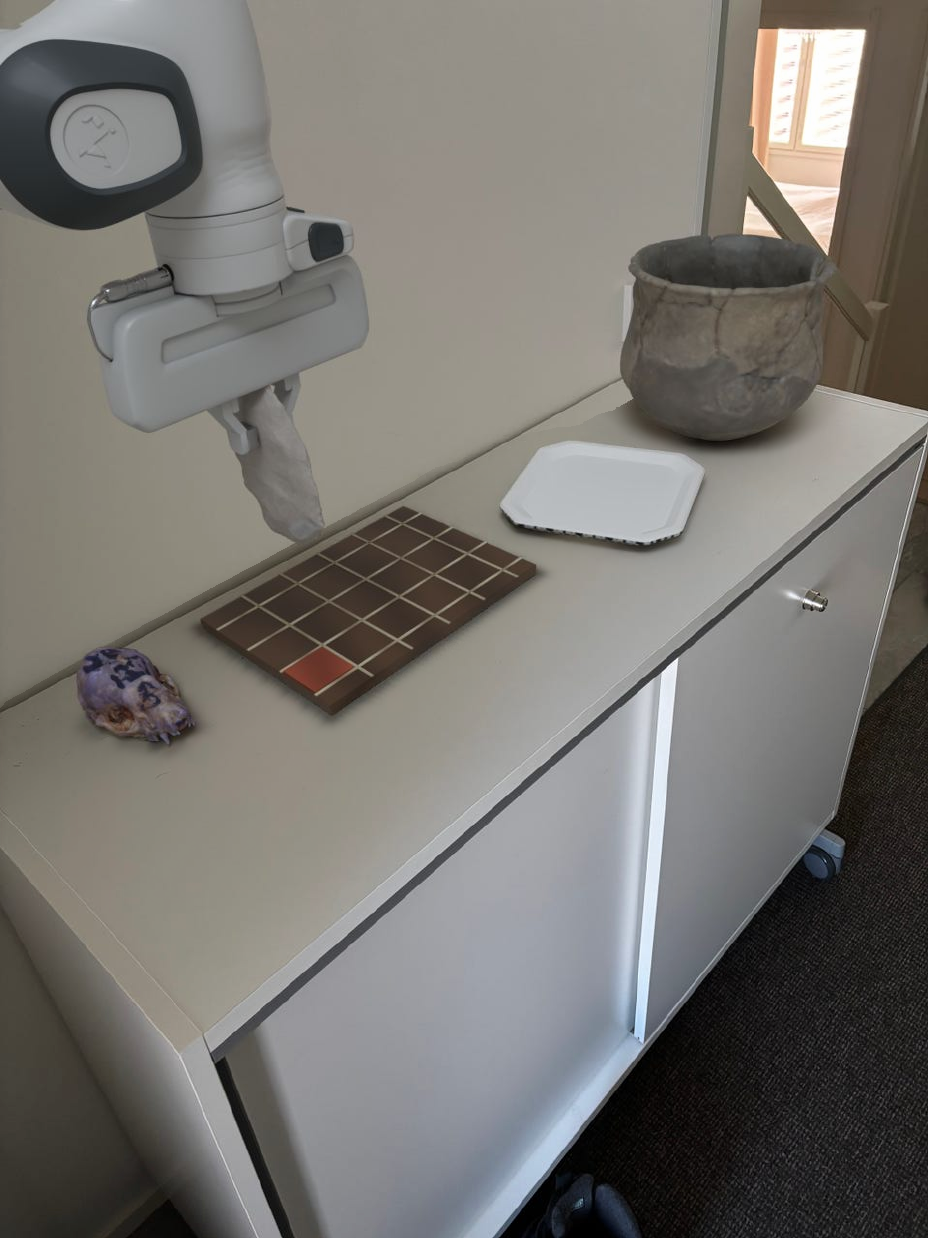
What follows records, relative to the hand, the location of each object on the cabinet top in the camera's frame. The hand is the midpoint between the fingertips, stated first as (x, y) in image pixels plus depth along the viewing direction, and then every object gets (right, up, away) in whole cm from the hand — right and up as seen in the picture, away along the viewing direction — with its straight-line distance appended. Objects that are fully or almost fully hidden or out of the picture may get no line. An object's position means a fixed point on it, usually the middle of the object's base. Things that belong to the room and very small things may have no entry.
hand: (264, 442), depth 68 cm
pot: (+47, +12, +53) cm, 72 cm away
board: (+6, -11, +26) cm, 28 cm away
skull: (-14, -22, +14) cm, 29 cm away
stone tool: (+2, -7, +7) cm, 9 cm away
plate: (+31, 0, +39) cm, 50 cm away
